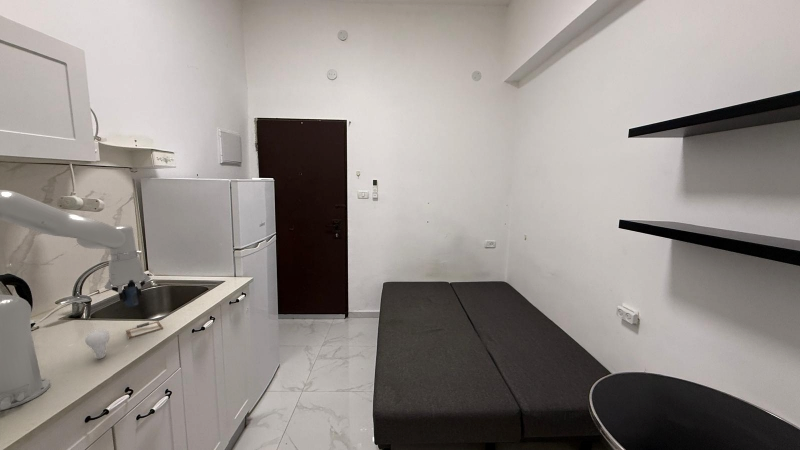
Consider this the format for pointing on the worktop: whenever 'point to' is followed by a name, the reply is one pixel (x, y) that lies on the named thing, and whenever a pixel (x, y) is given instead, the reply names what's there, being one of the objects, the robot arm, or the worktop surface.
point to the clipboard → (143, 329)
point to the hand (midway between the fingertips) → (131, 298)
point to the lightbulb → (98, 342)
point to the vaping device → (130, 294)
